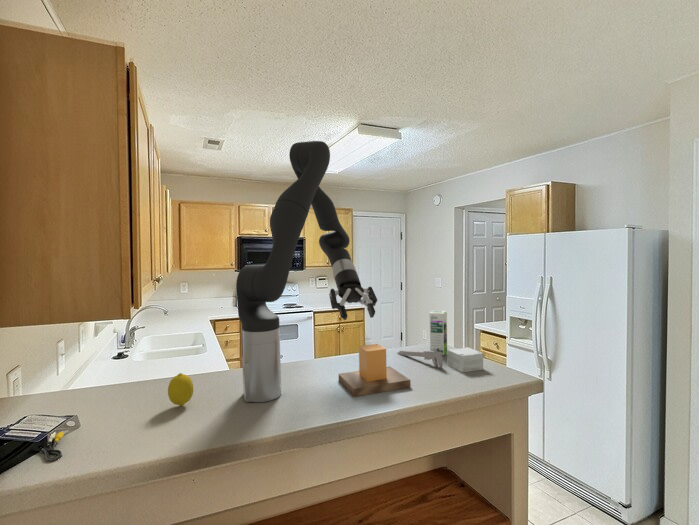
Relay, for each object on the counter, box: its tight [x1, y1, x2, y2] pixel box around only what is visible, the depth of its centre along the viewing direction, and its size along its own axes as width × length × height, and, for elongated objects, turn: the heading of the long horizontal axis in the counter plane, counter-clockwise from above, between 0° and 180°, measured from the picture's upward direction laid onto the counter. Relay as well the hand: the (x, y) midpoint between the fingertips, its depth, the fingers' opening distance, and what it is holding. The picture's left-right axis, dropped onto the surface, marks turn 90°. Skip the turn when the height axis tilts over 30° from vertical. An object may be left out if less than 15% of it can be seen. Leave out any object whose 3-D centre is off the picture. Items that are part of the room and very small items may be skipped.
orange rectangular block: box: [358, 343, 387, 382], centre depth 98 cm, size 6×6×8 cm
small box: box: [446, 346, 484, 373], centre depth 111 cm, size 8×8×5 cm
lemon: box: [167, 372, 194, 407], centre depth 86 cm, size 6×6×8 cm
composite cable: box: [40, 430, 65, 463], centre depth 68 cm, size 10×5×2 cm, turn 38°
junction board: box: [338, 365, 412, 398], centre depth 98 cm, size 16×12×2 cm
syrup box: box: [429, 310, 448, 356], centre depth 126 cm, size 6×6×14 cm
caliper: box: [397, 348, 444, 369], centre depth 118 cm, size 20×1×6 cm, turn 32°
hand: (359, 317), depth 107 cm, fingers open, 8 cm apart
